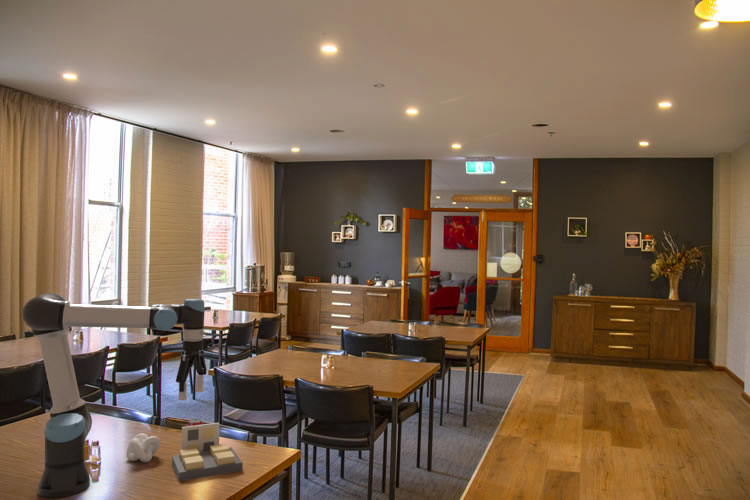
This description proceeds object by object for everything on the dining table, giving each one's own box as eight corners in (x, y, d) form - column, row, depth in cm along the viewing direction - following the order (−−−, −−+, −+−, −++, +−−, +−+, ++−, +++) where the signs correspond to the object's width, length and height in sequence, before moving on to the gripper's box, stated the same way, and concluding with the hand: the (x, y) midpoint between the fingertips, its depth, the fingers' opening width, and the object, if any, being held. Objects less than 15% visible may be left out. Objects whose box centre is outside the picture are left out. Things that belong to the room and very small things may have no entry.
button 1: (182, 463, 206) (182, 455, 206) (179, 458, 211) (179, 450, 211) (199, 461, 208) (199, 452, 208) (196, 455, 214) (196, 447, 214)
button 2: (185, 472, 198) (186, 463, 198) (183, 466, 203) (183, 458, 203) (203, 469, 200) (203, 460, 200) (200, 463, 206) (200, 455, 206)
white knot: (117, 462, 212) (117, 438, 212) (140, 452, 223) (140, 429, 223) (141, 467, 208) (141, 442, 208) (163, 456, 219) (164, 433, 219)
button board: (179, 481, 195) (179, 446, 195) (170, 460, 215) (170, 428, 215) (242, 470, 205) (242, 437, 205) (228, 451, 225) (229, 421, 225)
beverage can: (197, 454, 222) (198, 423, 222) (183, 452, 223) (183, 422, 223) (205, 448, 228) (206, 418, 228) (191, 447, 229) (191, 417, 229)
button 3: (212, 458, 211) (213, 450, 211) (209, 453, 216) (209, 445, 216) (229, 456, 213) (229, 448, 213) (225, 451, 219) (225, 443, 219)
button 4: (217, 467, 203) (218, 458, 203) (214, 461, 208) (214, 453, 208) (234, 464, 205) (234, 456, 205) (230, 459, 211) (231, 451, 211)
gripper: (186, 345, 202) (184, 404, 202) (216, 335, 227) (214, 389, 226) (167, 344, 203) (165, 403, 203) (198, 335, 228) (197, 387, 227)
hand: (191, 395), depth 215 cm, fingers open, 13 cm apart
